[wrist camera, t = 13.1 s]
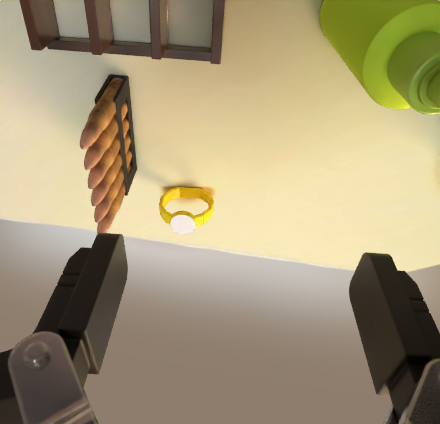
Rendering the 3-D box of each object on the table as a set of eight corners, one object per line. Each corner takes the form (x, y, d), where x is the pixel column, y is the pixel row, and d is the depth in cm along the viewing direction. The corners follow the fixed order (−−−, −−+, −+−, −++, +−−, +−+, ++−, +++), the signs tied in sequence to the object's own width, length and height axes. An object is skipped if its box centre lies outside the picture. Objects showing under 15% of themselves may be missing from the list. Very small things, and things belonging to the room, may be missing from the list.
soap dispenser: (340, 70, 34) (431, 203, 19) (307, 0, 31) (387, 95, 15) (404, 31, 32) (565, 147, 17) (377, -49, 29) (550, 6, 13)
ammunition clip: (136, 170, 42) (111, 245, 33) (120, 169, 42) (90, 244, 33) (128, 75, 35) (93, 137, 26) (108, 74, 35) (66, 135, 26)
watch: (214, 182, 43) (212, 215, 38) (214, 201, 45) (212, 235, 40) (162, 181, 43) (154, 214, 38) (164, 200, 45) (157, 233, 40)
